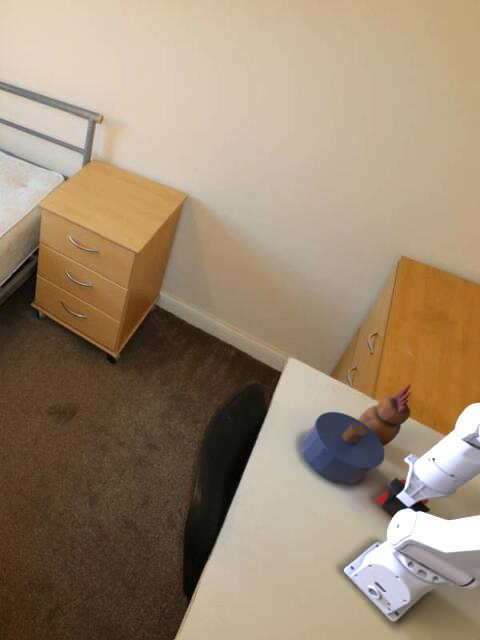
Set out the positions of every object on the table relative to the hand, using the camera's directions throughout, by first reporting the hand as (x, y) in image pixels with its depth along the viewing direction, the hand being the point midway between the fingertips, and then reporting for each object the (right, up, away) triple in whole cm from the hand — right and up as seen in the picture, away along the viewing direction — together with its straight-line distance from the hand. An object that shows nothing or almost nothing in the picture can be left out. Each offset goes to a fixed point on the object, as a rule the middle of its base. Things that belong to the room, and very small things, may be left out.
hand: (401, 501), depth 90 cm
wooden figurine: (+3, +7, +11) cm, 14 cm away
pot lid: (-7, +10, +3) cm, 12 cm away
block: (0, -1, +1) cm, 2 cm away
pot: (-7, +5, +8) cm, 11 cm away
